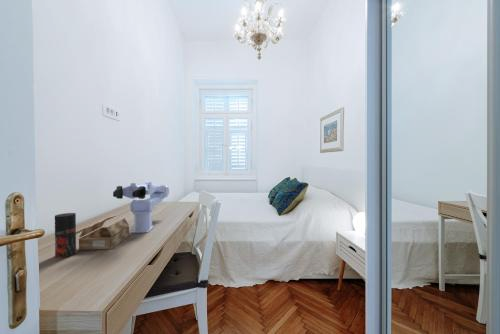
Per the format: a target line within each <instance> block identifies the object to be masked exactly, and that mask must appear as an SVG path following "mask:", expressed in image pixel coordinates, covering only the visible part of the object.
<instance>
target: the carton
mask: <svg viewBox="0 0 500 334" xmlns="http://www.w3.org/2000/svg"><path fill="white" fill-rule="evenodd" d="M107 227H108V226H102V227H100V228H98V229H96V230H94V231H92V232H90V233H88V234H86V235H84V236H82V237H79V238H78V251H99V250H113V249H114V248H115V247H116V246H118V245H119V244H121V243H122V242H123V241H125V240H126V239H128V237H130V225H129V226H127V227H126V228H124V229H123V230H121V231H120V232H118V233H116V234H115V235H113V236H111V235H110V233H109V232H108V230H107V229H106V228H107Z"/></svg>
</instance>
